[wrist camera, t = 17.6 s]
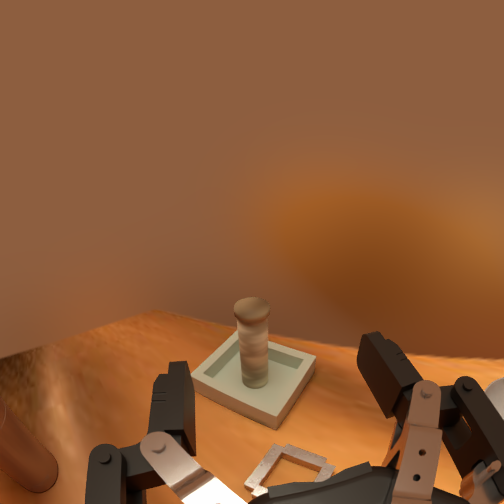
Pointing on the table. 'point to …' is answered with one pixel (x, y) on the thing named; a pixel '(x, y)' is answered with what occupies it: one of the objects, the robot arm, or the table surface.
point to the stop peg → (253, 340)
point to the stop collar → (291, 455)
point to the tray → (261, 399)
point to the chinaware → (496, 395)
